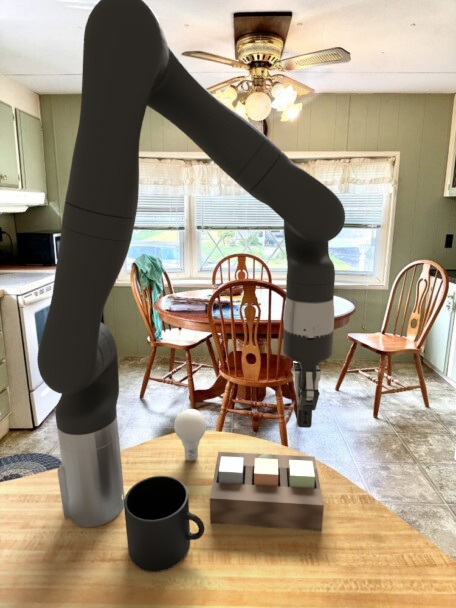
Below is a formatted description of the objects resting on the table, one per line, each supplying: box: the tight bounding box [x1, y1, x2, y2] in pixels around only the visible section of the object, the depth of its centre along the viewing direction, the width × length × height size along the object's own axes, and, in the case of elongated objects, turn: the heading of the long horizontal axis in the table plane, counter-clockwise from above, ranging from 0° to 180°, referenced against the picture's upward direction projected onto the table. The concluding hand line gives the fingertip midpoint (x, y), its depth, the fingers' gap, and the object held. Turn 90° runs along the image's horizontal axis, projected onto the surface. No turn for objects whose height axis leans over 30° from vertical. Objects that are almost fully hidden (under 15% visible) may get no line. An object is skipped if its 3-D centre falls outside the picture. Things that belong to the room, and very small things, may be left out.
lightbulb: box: [173, 408, 207, 462], centre depth 80 cm, size 6×6×11 cm
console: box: [209, 451, 325, 532], centre depth 70 cm, size 18×12×5 cm, turn 85°
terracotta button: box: [254, 458, 278, 486], centre depth 70 cm, size 4×4×4 cm
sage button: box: [288, 460, 315, 488], centre depth 69 cm, size 4×4×4 cm
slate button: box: [219, 456, 244, 484], centre depth 70 cm, size 4×4×4 cm
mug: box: [123, 475, 206, 573], centre depth 61 cm, size 9×12×9 cm
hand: (304, 425), depth 66 cm, fingers closed
